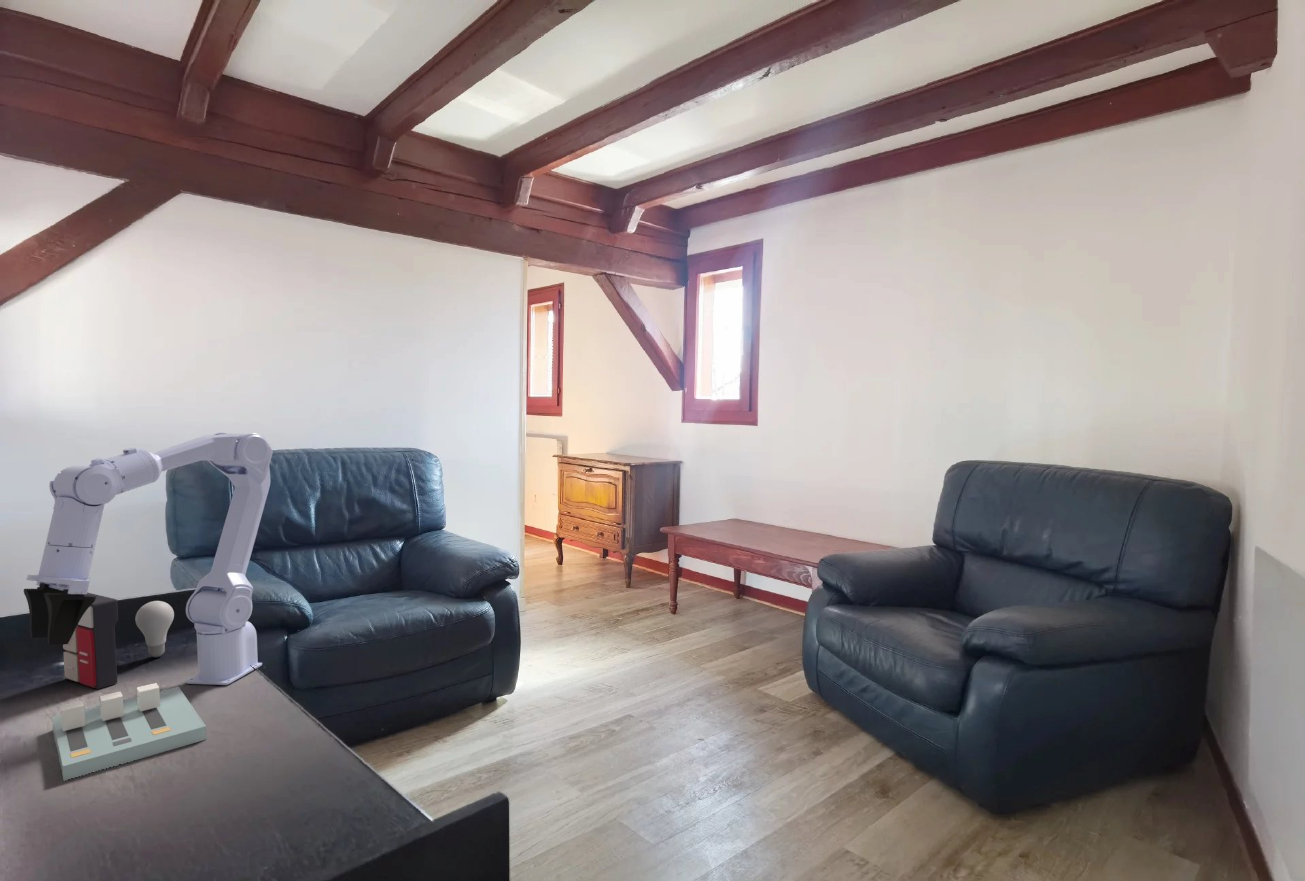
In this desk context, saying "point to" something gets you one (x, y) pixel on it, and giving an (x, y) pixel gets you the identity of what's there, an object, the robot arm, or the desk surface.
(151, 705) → the tab
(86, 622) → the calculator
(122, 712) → the tab
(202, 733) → the switch board
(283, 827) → the desk surface
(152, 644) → the lightbulb
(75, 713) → the tab
